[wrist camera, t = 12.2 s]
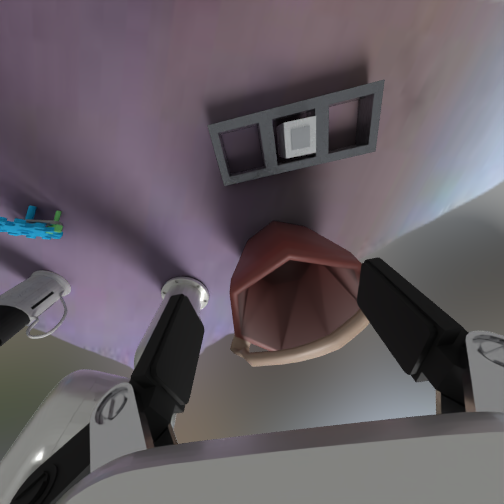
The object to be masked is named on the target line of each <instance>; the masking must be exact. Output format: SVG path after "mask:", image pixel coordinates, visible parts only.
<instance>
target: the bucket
mask: <svg viewBox="0 0 504 504" xmlns="http://www.w3.org/2000/svg"><path fill="white" fill-rule="evenodd" d="M361 265H362V264H361V263H360V262H359V261H358V260H357V258H356V257H355V256H354V255H353V254H352V253H351V252H349V251H347V250H346V249H344V248H342V247H340V246H339V245H337V244H335V243H333V242H332V241H330V240H328V239H326V238H325V237H323V236H321V235H319V234H318V233H316V232H314V231H312V230H311V229H309V228H307V227H305V226H300V225H295V224H289V223H284V222H278V221H272V222H271V223H269V224H268V225H267V226H266V227H264V228H263V229H262V230H260V231H259V232H258V233H257V234H255V235H254V236H253V237H252V238H250V239H249V240H248V241H247V243H246V246H245V248H244V250H243V253H242V255H241V257H240V260H239V262H238V264H237V267H236V269H235V271H234V273H233V276H232V278H231V284H230V300H231V308H232V316H233V323H234V331H235V335H234V337H233V340H232V344H231V348H230V349H231V351H232V352H233V353H234V354H236V355H239V356H241V357H243V358H244V359H246V361H248V363H250V364H251V366H252V367H254V366H266V365H279V364H287V363H294V362H300V361H304V360H308V359H312V358H315V357H319V356H322V355H325V354H327V353H330V352H333V351H335V350H338V349H340V348H341V347H343V346H344V345H345V344H347V343H348V342H349V341H350V340H352V339H353V338H354V337H355V336H357V335H358V334H359V333H360V332H361V331H362V330H363V329H364V328H365V327H366V326H367V325H368V324H369V323H370V322H369V321H368V319H367V318H366V316H365V315H364V314H363V312H362V311H361V309H360V308H359V306H358V304H357V294H358V287H359V279H360V271H361ZM251 343H252V344H255V345H257V346H259V347H262V348H264V349H266V350H269V351H265V352H254V353H249V347H250V344H251Z"/></svg>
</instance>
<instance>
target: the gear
mask: <svg viewBox="0 0 504 504" xmlns="http://www.w3.org/2000/svg"><path fill="white" fill-rule="evenodd" d="M36 209H37V207H35V206H29V207H28V211H27V214H26V217H25V219H17V218H15V220H14V222H10V221H7V218H4V217H0V232H8V234H10V235H14V236H18V235H26V237H28V238H34V239H35V238H36V236H41V237H42V239H50V240H51V237H52V238H54V239H61V237H62V235H63V232H62V228H63V226H62V223H61V222H59V219H60V215H61V211H56V213H55V217H54V221H53V220H33V219H34V216H35V212H36ZM46 225H51V226H47V227H45V226H46Z"/></svg>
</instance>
